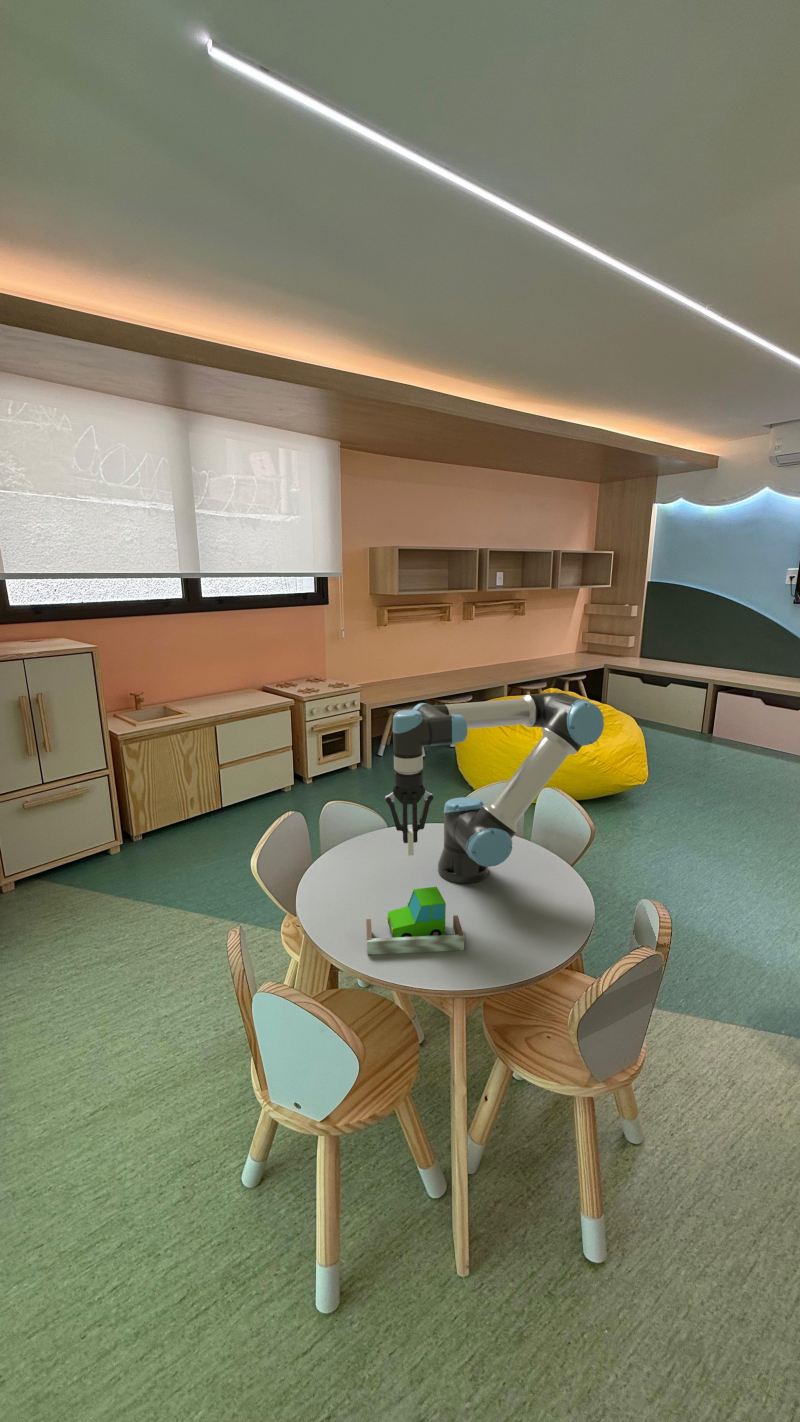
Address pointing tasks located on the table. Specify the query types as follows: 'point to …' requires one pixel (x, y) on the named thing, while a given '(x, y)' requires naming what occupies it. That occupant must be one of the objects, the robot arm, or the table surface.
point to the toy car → (419, 915)
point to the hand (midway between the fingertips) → (410, 853)
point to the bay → (416, 942)
